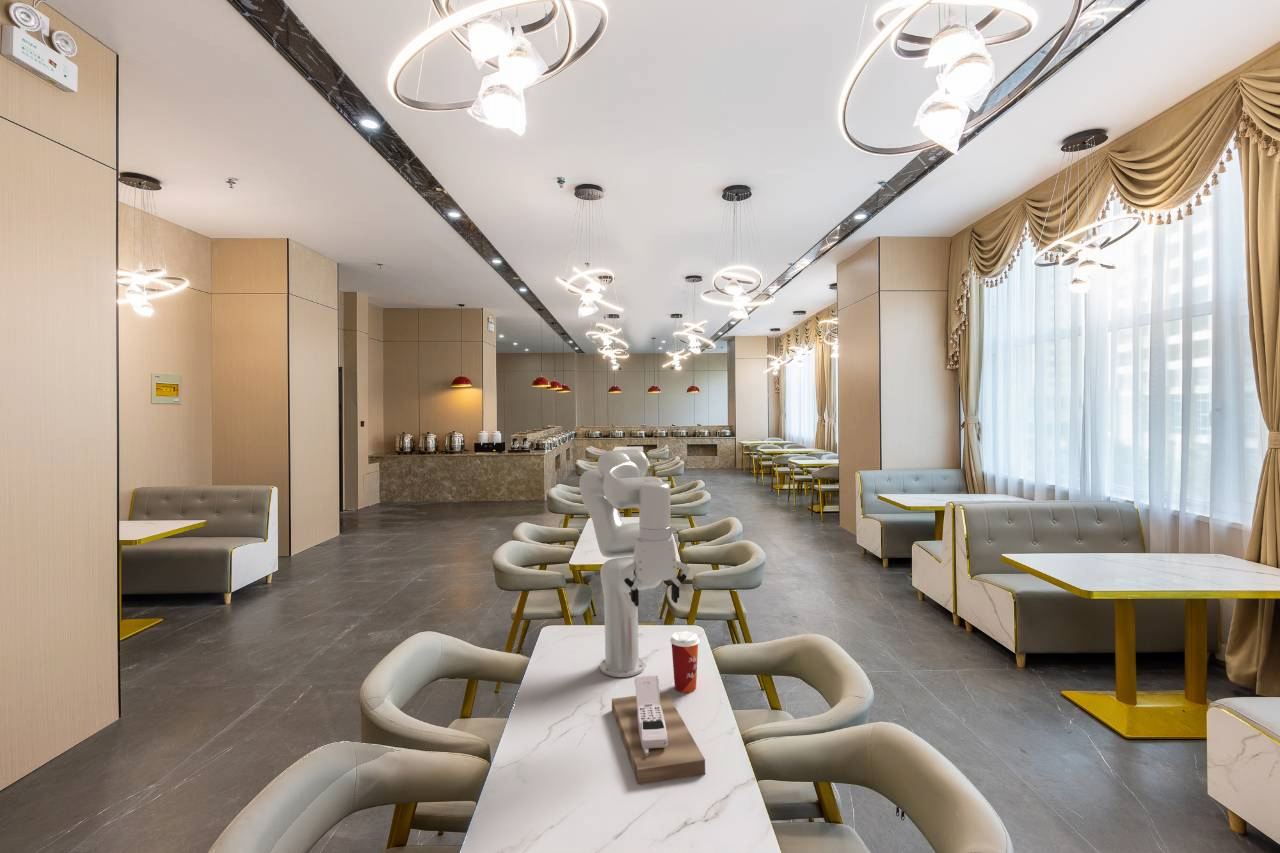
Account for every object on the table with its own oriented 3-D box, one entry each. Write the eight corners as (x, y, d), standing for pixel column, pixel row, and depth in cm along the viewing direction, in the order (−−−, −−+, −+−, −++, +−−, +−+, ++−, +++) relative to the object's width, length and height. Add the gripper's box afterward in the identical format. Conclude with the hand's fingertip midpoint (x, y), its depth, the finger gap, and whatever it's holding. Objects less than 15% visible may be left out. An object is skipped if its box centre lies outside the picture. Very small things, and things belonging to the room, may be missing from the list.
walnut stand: (611, 710, 151) (611, 698, 150) (666, 703, 154) (666, 691, 153) (638, 784, 121) (637, 769, 121) (705, 774, 124) (705, 759, 124)
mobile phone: (658, 674, 150) (669, 727, 125) (658, 698, 150) (670, 756, 125) (633, 676, 150) (640, 729, 125) (634, 699, 150) (641, 758, 125)
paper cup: (698, 695, 157) (697, 642, 157) (668, 693, 159) (668, 640, 158) (701, 682, 165) (700, 631, 164) (673, 680, 167) (672, 629, 166)
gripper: (685, 527, 153) (685, 594, 154) (616, 531, 149) (617, 600, 150) (694, 535, 145) (693, 605, 147) (622, 539, 142) (623, 611, 143)
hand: (655, 602), depth 148 cm, fingers open, 9 cm apart
